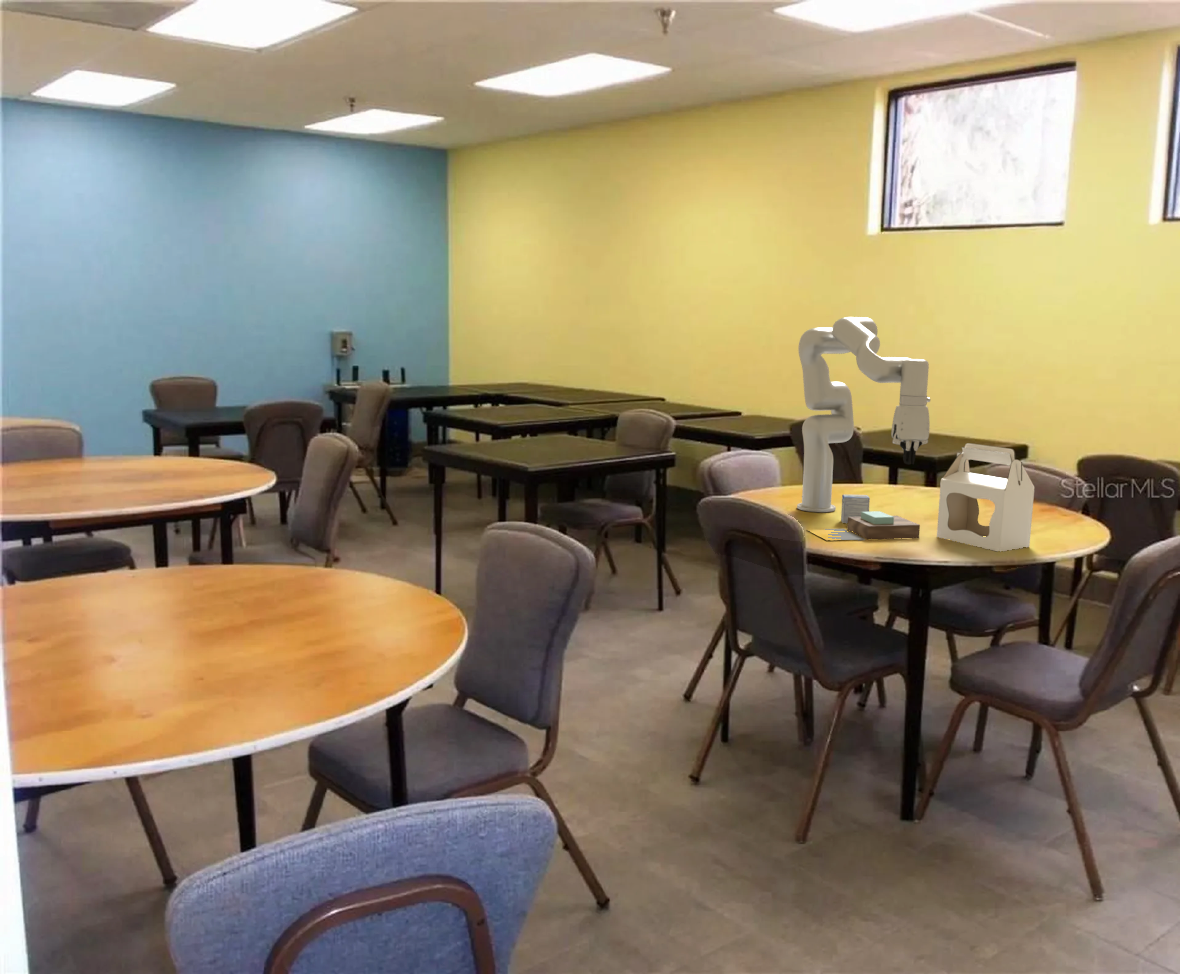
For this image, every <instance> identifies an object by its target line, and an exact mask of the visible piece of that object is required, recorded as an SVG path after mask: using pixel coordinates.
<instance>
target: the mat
mask: <svg viewBox="0 0 1180 974" xmlns="http://www.w3.org/2000/svg"><path fill="white" fill-rule="evenodd" d="M824 529H825V530H834V531H845V532H831V533H838V534H828V535H832V536H841V537H828V538H832V539H835V538H836V539H841V540H858V541H866V540H867V539H865V538H863V537H861V536H859V535H857V534H855V533H853V532H851V531H849V532H847V531H848V530H847V529H845V528H824Z"/></svg>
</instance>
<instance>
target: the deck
mask: <svg viewBox="0 0 1180 974" xmlns="http://www.w3.org/2000/svg"><path fill="white" fill-rule="evenodd" d="M892 516H893V517H894V524H873V523H870V522H868V521H866V520H864V519H861V517H848V524H847V526H846V527H847V529H846V530H847V531H849V530H850V531H849V532H851V531H853V532H854V534H855V533H856V535H858V536H859V535H860V537H861V536H862V538H864V539H865V538H866V540H867V539H878V540H895V539H894V538H901V539H902V538H912V539H920V527H921V525H920V524H919V523H917V522H914V521H912V520H908V519H907V518H905V517H904V518H903V517H901V516H899V515H892ZM853 532H852V533H853ZM901 539H900V540H901ZM902 540H903V539H902Z"/></svg>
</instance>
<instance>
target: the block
mask: <svg viewBox="0 0 1180 974" xmlns="http://www.w3.org/2000/svg"><path fill="white" fill-rule="evenodd" d="M893 516H894V515H890V514H888V513H885V512H883V511H880V510H878V511H877V510H876V511H875V510H874V511H869V512H861V519H864V520H866V521H868V522H870V523H873V524H894V517H893Z"/></svg>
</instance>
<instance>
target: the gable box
mask: <svg viewBox="0 0 1180 974" xmlns="http://www.w3.org/2000/svg"><path fill="white" fill-rule="evenodd" d="M961 449H962V452H957V453H956V457H955V459H954V460H953V462H952V463H951V465H950V466H949V467H948V468H947V470H946V472H945V473H944V474H943V476H942V477H941V479H940V483H939V484H940V485H939V487H940V489H939V501H938V515H937V528H936V530H937V531H936V537H937V538H938V537H939V539H942V538H944V539H943V540H946V539H950V540H952V542H955V541H957V542H956V543H959V542H960V544H963V543H965V544H964V545H968V544H970V545H969V546H972V545H973V547H976V546H977V548H980V547H982V549H986V550H989V549H990V551H994V552H998V551H1000V552H999V553H1001V551H1003V552H1008V551H1007V550H1009V551H1013V550H1012V549H1015V550H1018V549H1019V548H1020V549H1024V548H1023V547H1026V548H1029V547H1030V544H1031V534H1032V533H1031V532H1032V531H1031V530H1032V519H1033V509H1034V497H1035V485H1034V484H1033V481H1032V480H1031V478H1030V476H1029V474H1028V472H1027V471H1026V469H1025V467H1024V465H1023V461H1020V460H1019V459H1017V458H1016V451H1015V450H1014V449H1013V448H1007V447H999V446H993V445H986V444H977V443H970V442H969V443H965V445H964V446H961ZM971 460H973V461H979V462H986V463H993V464H1000V465H1005V466H1007V467H1008V466H1009V470H1008V476H1007V477H1001V476H995V475H994V476H993V475H988V474H982V473H976V472H971V471H970V463H969V461H971ZM979 499H981V500H989V501H990V502H992V503H993V504H994V511H993V513H992V515H991V517H990V520H989V524H988V525H982V524H980V523H979V520H978V519H979V515H980V507H979V502H978V500H979ZM983 536H986V537H983ZM950 540H949V541H950ZM1020 549H1019V550H1020Z"/></svg>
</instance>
